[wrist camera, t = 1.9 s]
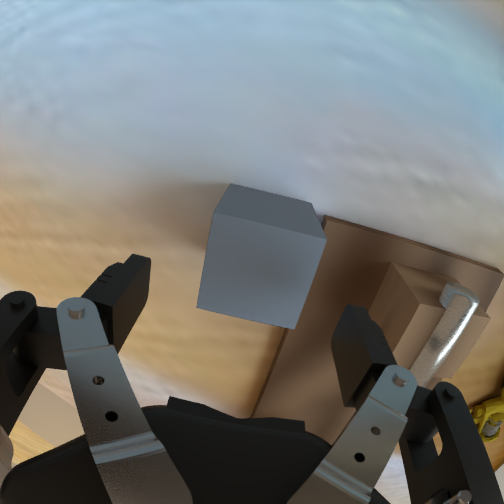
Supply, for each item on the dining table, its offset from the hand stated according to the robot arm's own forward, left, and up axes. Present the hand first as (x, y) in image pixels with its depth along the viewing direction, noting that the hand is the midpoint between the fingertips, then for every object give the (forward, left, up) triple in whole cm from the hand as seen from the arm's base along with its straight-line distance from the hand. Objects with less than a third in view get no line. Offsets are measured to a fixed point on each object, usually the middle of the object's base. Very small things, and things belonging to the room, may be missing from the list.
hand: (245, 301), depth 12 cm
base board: (-12, +12, -8) cm, 19 cm away
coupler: (0, 0, -8) cm, 8 cm away
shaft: (-12, +3, -4) cm, 13 cm away
